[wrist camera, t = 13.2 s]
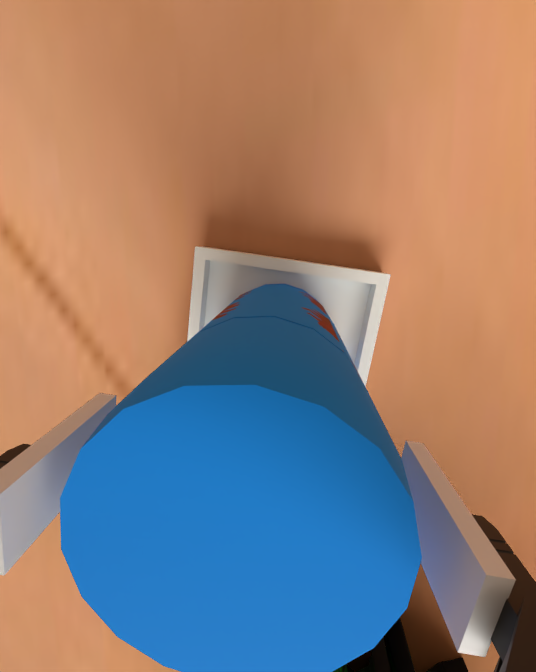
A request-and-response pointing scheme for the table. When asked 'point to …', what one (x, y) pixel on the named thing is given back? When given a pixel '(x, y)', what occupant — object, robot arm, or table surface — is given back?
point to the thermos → (246, 501)
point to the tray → (315, 278)
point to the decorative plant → (400, 656)
